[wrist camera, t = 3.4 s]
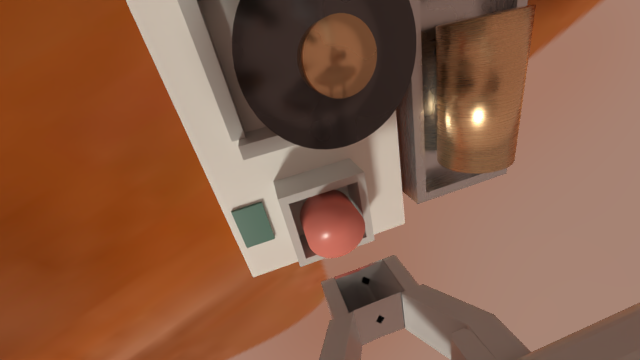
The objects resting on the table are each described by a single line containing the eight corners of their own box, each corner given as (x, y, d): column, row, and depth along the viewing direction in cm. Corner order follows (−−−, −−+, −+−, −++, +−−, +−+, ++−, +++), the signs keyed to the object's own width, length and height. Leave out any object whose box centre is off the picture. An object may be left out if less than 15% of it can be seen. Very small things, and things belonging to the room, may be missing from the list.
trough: (386, -5, 13) (406, -14, 11) (499, -31, 14) (532, -42, 12) (402, 191, 18) (417, 204, 16) (484, 163, 19) (506, 173, 17)
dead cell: (224, 18, 10) (189, -57, 4) (316, -2, 11) (433, -100, 4) (255, 113, 12) (269, 180, 5) (333, 92, 13) (435, 130, 6)
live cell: (419, 29, 13) (477, 19, 10) (484, 13, 14) (561, -1, 11) (423, 164, 17) (468, 191, 13) (476, 148, 17) (531, 169, 14)
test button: (293, 199, 13) (300, 218, 11) (347, 182, 13) (361, 198, 12) (306, 242, 14) (314, 265, 13) (355, 226, 15) (368, 246, 13)
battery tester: (113, -54, 10) (53, -106, 7) (361, -97, 11) (406, -156, 8) (252, 260, 17) (254, 304, 14) (393, 211, 18) (423, 242, 15)
